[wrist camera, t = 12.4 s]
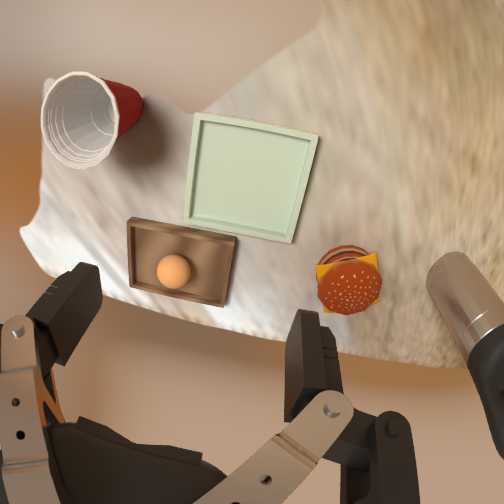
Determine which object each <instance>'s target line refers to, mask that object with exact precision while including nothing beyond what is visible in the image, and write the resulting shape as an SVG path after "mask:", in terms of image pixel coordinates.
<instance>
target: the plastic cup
mask: <svg viewBox="0 0 504 504" xmlns="http://www.w3.org/2000/svg"><path fill="white" fill-rule="evenodd" d="M142 110H143V102H142V98H141V96H140V95H139V93H138V92H137V91H136V90H134V89H133V88H131V87H129V86H125V85H123V84H121V83H116V82H112V81H108V80H104V79H102V78H98V77H97V76H95V75H93V74H92V73H89V72H71V73H69V74H67V75H65V76H63V77H61V78H59V79H57V80H56V82H55V83H54V84H53V85H52V86H51V88H50V89H49V90H48V91H47V93H46V96H45V99H44V102H43V105H42V108H41V129H42V133H43V136H44V140H45V143H46V145H47V146H48V148H49V149H50V151H51V152H52V154H53V155H54V157H55V158H57V159H58V160H59V161H61V162H62V163H64V164H65V165H66V166H68V167H73V168H78V169H85V168H89V167H92V166H96V165H97V164H98V163H100V162H101V161H102V160H103V159H104V158H105V157H106V156H107V155H109V153H110V151H111V149H112V147H113V145H114V143H115V141H116V140H117V139H118V138H119V137H120V136H121V135H122V134H124V133H125V132H126V131H127V130H128V129H130V128H131V126H133V125H134V124H135V123H136V122H137V121H138V120H139V118H140V116H141V114H142Z"/></svg>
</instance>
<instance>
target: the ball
mask: <svg viewBox="0 0 504 504" xmlns="http://www.w3.org/2000/svg"><path fill="white" fill-rule="evenodd" d="M190 274H191V270H190V266H189V263H188V262H187V260H186V259H185V258H183V257H182V256H179V255H175V254H172V255H168V256H166V257H164V258H163V259H162V260H161V261H160V262H159V264H158V267H157V276H158V279H159V281H160V282H161V283H162V284H163V285H164V286H165V287H168V288H171V289H177V288H180V287H182V286H184V285H185V284H186V283H187V282H188V280H189V278H190Z"/></svg>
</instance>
